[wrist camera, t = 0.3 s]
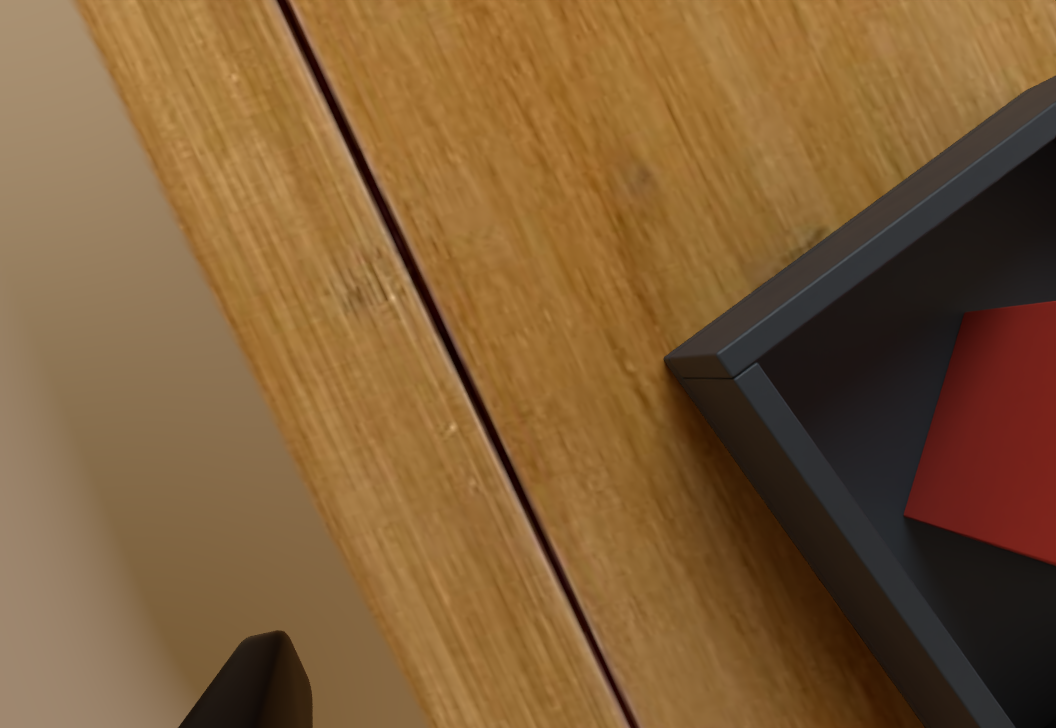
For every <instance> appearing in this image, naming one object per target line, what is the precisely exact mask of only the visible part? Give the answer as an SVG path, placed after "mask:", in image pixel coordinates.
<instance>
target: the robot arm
mask: <svg viewBox="0 0 1056 728" xmlns="http://www.w3.org/2000/svg"><path fill="white" fill-rule="evenodd" d="M312 719H313V717H312V691H311V686H310V682H309V679H308V677H307V674H306V672H305V670H304V668H303V666H302V663H301V661H300V659H299V657H298V655H297V652H296V650H295V648H294V646H293V644H292V642H291V639H290V638H289V636H288V635H287V634H286V633H285V632H284V631H273V632H268V633H263V634H259V635H255V636H250V637H248V638H246V639H245V640H243V641H242V642H241V643H240V645H239V646H238V647H237V648H236V650H235V651H234V652H233V654H232V655H231V657H230V658H229V659H228V661H227V662H226V663H225V665H224V666H223V667H222V669H221V670H220V672H219V673H218V674H217V676H216V677H215V678H214V680H213V681H212V683H211V684H210V685H209V687H208V688H207V689H206V691H205V692H204V693H203V695H202V696H201V698H200V699H199V700H198V701H197V703H196V704H195V706H194V707H193V708H192V710H191V711H190V712H189V714H188V715H187V716H186V718H185V719H184V721H183V722H182V723H181V725H180V726H179V727H178V728H312V727H313V725H312V724H313V723H312Z"/></svg>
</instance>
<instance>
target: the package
mask: <svg viewBox="0 0 1056 728" xmlns="http://www.w3.org/2000/svg"><path fill="white" fill-rule="evenodd" d="M904 517H906V518H909V519H912V520H915V521H918V522H921V523H924V524H927V525H930V526H934V527H937V528H940V529H943V530H946V531H949V532H952V533H955V534H958V535H961V536H964V537H967V538H970V539H973V540H976V541H980V542H983V543H986V544H989V545H992V546H995V547H998V548H1001V549H1004V550H1007V551H1010V552H1013V553H1016V554H1019V555H1023V556H1026V557H1029V558H1032V559H1035V560H1038V561H1041V562H1044V563H1047V564H1050V565H1053V566H1056V301H1051V302H1043V303H1035V304H1027V305H1019V306H1011V307H1003V308H995V309H987V310H979V311H971V312H965V313H964V316H963V319H962V323H961V326H960V329H959V333H958V336H957V339H956V343H955V346H954V349H953V353H952V356H951V359H950V362H949V366H948V369H947V372H946V376H945V379H944V382H943V386H942V389H941V392H940V396H939V399H938V402H937V405H936V409H935V412H934V415H933V419H932V422H931V425H930V429H929V432H928V435H927V439H926V442H925V445H924V448H923V452H922V455H921V458H920V462H919V465H918V468H917V472H916V475H915V478H914V482H913V485H912V488H911V491H910V495H909V498H908V501H907V505H906V508H905V511H904Z"/></svg>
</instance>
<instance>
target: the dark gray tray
mask: <svg viewBox="0 0 1056 728" xmlns="http://www.w3.org/2000/svg"><path fill="white" fill-rule="evenodd" d="M1051 301H1056V76H1054V77H1052V78H1050V79H1048V80H1046V81H1044V82H1042V83H1040V84H1039V85H1036V86H1034V87H1032V88H1030V89H1028V90H1026V91H1024V92H1023V93H1022V94H1020V95H1019V96H1018V97H1016V98H1015V99H1014V100H1012V101H1011V102H1009V103H1008V104H1007V105H1005V106H1004V107H1003V108H1001V109H1000V110H999V111H997V112H996V113H995V114H993V115H992V116H990V117H989V118H988V119H986V120H985V121H984V122H982V123H981V124H980V125H978V126H977V127H976V128H974V129H973V130H971V131H970V132H969V133H967V134H966V135H965V136H963V137H962V138H961V139H959V140H958V141H957V142H955V143H954V144H953V145H951V146H950V147H948V148H947V149H946V150H944V151H943V152H942V153H940V154H939V155H938V156H936V157H935V158H934V159H932V160H931V161H929V162H928V163H927V164H925V165H924V166H923V167H921V168H920V169H919V170H917V171H916V172H915V173H913V174H912V175H910V176H909V177H908V178H906V179H905V180H904V181H902V182H901V183H900V184H898V185H897V186H896V187H894V188H893V189H892V190H890V191H889V192H887V193H886V194H885V195H883V196H882V197H881V198H879V199H878V200H877V201H875V202H874V203H873V204H871V205H870V206H868V207H867V208H866V209H864V210H863V211H862V212H860V213H859V214H858V215H856V216H855V217H854V218H852V219H851V220H849V221H848V222H847V223H845V224H844V225H843V226H841V227H840V228H839V229H837V230H836V231H835V232H833V233H832V234H831V235H829V236H828V237H826V238H825V239H824V240H822V241H821V242H820V243H818V244H817V245H816V246H814V247H813V248H812V249H810V250H809V251H807V252H806V253H805V254H803V255H802V256H801V257H799V258H798V259H797V260H795V261H794V262H793V263H791V264H790V265H788V266H787V267H786V268H784V269H783V270H782V271H780V272H779V273H778V274H776V275H775V276H774V277H772V278H771V279H770V280H768V281H767V282H765V283H764V284H763V285H761V286H760V287H759V288H757V289H756V290H755V291H753V292H752V293H751V294H749V295H748V296H746V297H745V298H744V299H742V300H741V301H740V302H738V303H737V304H736V305H734V306H733V307H732V308H730V309H729V310H727V311H726V312H725V313H723V314H722V315H721V316H719V317H718V318H717V319H715V320H714V321H713V322H711V323H710V324H709V325H707V326H706V327H704V328H703V329H702V330H700V331H699V332H698V333H696V334H695V335H694V336H692V337H691V338H690V339H688V340H687V341H685V342H684V343H683V344H681V345H680V346H679V347H677V348H676V349H675V350H673V351H672V352H671V353H669V354H668V355H666V356H665V357H664V361H665V363H666V364H667V366H668V367H669V368H670V370H671V371H672V373H673V374H674V375H675V377H676V378H677V380H678V381H679V382H680V384H681V385H682V387H683V388H684V389H685V391H686V392H687V394H688V395H689V396H690V398H691V399H692V401H693V402H694V403H695V405H696V406H697V408H698V409H699V410H700V412H701V413H702V415H703V416H704V418H705V419H706V420H707V422H708V423H709V425H710V426H711V427H712V429H713V430H714V432H715V433H716V434H717V436H718V437H719V439H720V440H721V441H722V443H723V444H724V446H725V447H726V448H727V450H728V451H729V453H730V454H731V455H732V457H733V458H734V460H735V461H736V462H737V464H738V465H739V467H740V468H741V469H742V471H743V472H744V474H745V475H746V476H747V478H748V479H749V481H750V482H751V484H752V485H753V486H754V488H755V489H756V491H757V492H758V493H759V495H760V496H761V498H762V499H763V500H764V502H765V503H766V505H767V506H768V507H769V509H770V510H771V512H772V513H773V514H774V516H775V517H776V519H777V520H778V521H779V523H780V524H781V526H782V527H783V528H784V530H785V531H786V533H787V534H788V535H789V537H790V538H791V540H792V541H793V542H794V544H795V545H796V547H797V548H798V549H799V551H800V552H801V554H802V555H803V557H804V558H805V559H806V561H807V562H808V564H809V565H810V566H811V568H812V569H813V571H814V572H815V573H816V575H817V576H818V578H819V579H820V580H821V582H822V583H823V585H824V586H825V587H826V589H827V590H828V592H829V593H830V594H831V596H832V597H833V599H834V600H835V601H836V603H837V604H838V606H839V607H840V608H841V610H842V611H843V613H844V614H845V615H846V617H847V618H848V620H849V621H850V623H851V624H852V625H853V627H854V628H855V630H856V631H857V632H858V634H859V635H860V637H861V638H862V639H863V641H864V642H865V644H866V645H867V646H868V648H869V649H870V651H871V652H872V653H873V655H874V656H875V658H876V659H877V660H878V662H879V663H880V665H881V666H882V667H883V669H884V670H885V672H886V673H887V674H888V676H889V677H890V679H891V680H892V681H893V683H894V684H895V686H896V687H897V689H898V690H899V691H900V693H901V694H902V696H903V697H904V698H905V700H906V701H907V703H908V704H909V705H910V707H911V708H912V710H913V711H914V712H915V714H916V715H917V717H918V718H919V719H920V721H921V722H922V724H923V725H924V726H925V728H1056V566H1053V565H1050V564H1047V563H1044V562H1041V561H1038V560H1035V559H1032V558H1029V557H1026V556H1023V555H1019V554H1016V553H1013V552H1010V551H1007V550H1004V549H1001V548H998V547H995V546H992V545H989V544H986V543H983V542H980V541H976V540H973V539H970V538H967V537H964V536H961V535H958V534H955V533H952V532H949V531H946V530H943V529H940V528H937V527H934V526H930V525H927V524H924V523H921V522H918V521H915V520H912V519H909V518H906V517H904V511H905V508H906V505H907V501H908V498H909V495H910V491H911V488H912V485H913V482H914V478H915V475H916V472H917V468H918V465H919V462H920V458H921V455H922V452H923V448H924V445H925V442H926V439H927V435H928V432H929V429H930V425H931V422H932V419H933V415H934V412H935V409H936V405H937V402H938V399H939V396H940V392H941V389H942V386H943V382H944V379H945V376H946V372H947V369H948V366H949V362H950V359H951V356H952V353H953V349H954V346H955V343H956V339H957V336H958V333H959V329H960V326H961V323H962V319H963V316H964V313H965V312H971V311H979V310H987V309H995V308H1003V307H1011V306H1019V305H1027V304H1035V303H1043V302H1051Z"/></svg>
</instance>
